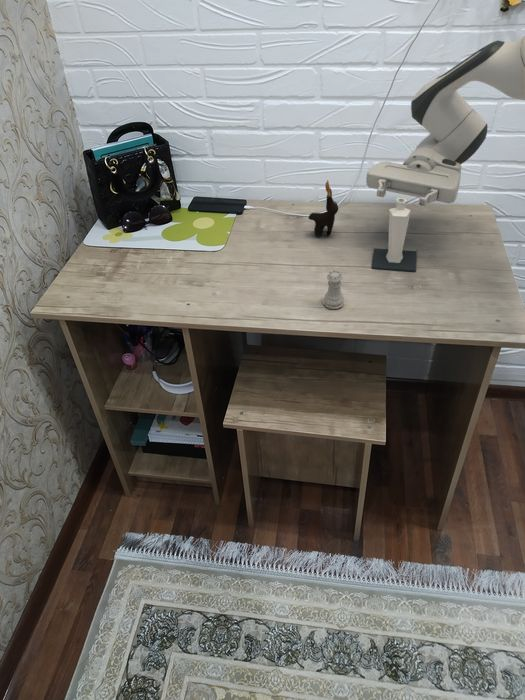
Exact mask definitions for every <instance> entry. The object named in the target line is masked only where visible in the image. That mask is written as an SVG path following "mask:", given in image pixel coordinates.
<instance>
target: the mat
mask: <svg viewBox="0 0 525 700" xmlns="http://www.w3.org/2000/svg"><path fill="white" fill-rule="evenodd" d="M387 253H388V248H377V247H373V254H372V260H371V267H370V269H371V270H381V271H394V272H395V271H396V272H407V273H416V272H417V257H418V256H417V254H418V250H405V249H403V250H402V255H403V258H402V260H401V261H400V263H394V262H388V260H387V258H386V255H387Z"/></svg>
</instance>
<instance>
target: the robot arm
mask: <svg viewBox="0 0 525 700" xmlns="http://www.w3.org/2000/svg"><path fill="white" fill-rule="evenodd" d="M470 82H479V83H482V84H486V85H488V86H490V87H492V88H494V89H496V90H497V91H499V92H501V93H503V94H504V95H506V96H508V97H509V98H512V99H514V100H520V101H525V35H524V36H522V37H521V38H518V39H516V40H512V41H503V40H498V39H497V40H494V41H493V42H490V43H487V45H485V46H483V47H482V48H480V49H478V50H476V51H475V52H473V53H472V54H471V55H469V56H468V57H466V58H465V59H463V60H462V61H460V62H459V63H457V64H456V65H454V66H453V67H452V68H450V69H449V70H447V71H446V72H444V73H443V74H441V75H439V76H437V77H436V78H435V79H433V80H430V81H428V82H427V83H425V84H424V85H423V86H421V88H419V90H418V91H417V92H416V93H415V95H414V96H413V98H412V100H411V102H410V112H411V118H412V119H413V120H414V121H416V122H417V123H418V124H419V125H420V126H421V127H423V128H424V129H425V130H426V131H427V132H428V133H429V134H428V135H427V136H425V138H423V139H422V140H421V141H420V142H419V144H417V145H416V147H415V149H414V150H413V151H412V152H411V153H410V154H409V155H408V156H407V158H406V159H405V160H404V161H403V163H397V162H391V161H380V162H377V163H376V164H375V165H373V166H372V167H371V168H369V170H368V171H367V172H366V178H365V179H366V180H365V184H366V186H367V187H368V188H370V189H375V190H376V197H379V198H384V197H385V196H386V195H387V192H390V193H395V194H400V195H405V196H409V197H415V198H419V200H418V201H419V202H418V205H420V206H422V207H423V206H424V207H427V205H428V204H430V203H434V202H440V203H445V204H453V203H455V202H456V200H457V197H458V193H459V189H460V183H461V177H462V176H461V175H462V164H464V163H465V162H466V161H468V160H469V159H470V158H471V157H472V156H474V155H475V153H476V152H477V151H478V150H479V148H481V146H482V145H483V143H484V142H485V140H486V139H487V134H488V123H487V122H486V121H485V120H484V119H483V117H482V116H481V115H480V114H479V113H478V112H477V111H476V110H475V109H474V108H473V107H472V106H471V105H470V103H468V101H466V100H465V98H464V97H463V96H462V95H461V94H460V93H459V92H458V90H459V89H461V88H463V87H464V86H466V85H467V84H469V83H470Z"/></svg>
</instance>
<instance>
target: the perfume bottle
mask: <svg viewBox="0 0 525 700" xmlns="http://www.w3.org/2000/svg"><path fill="white" fill-rule="evenodd" d="M395 200H396V203H395V204H396V205H395V206H394V207H392V208H389V211H388V213H389V214H388V245H387V246H388V247H387V249H388V253H387V255H386V258H387V260H388V262H394V263H400V261H401V260H402V258H403V255H402V250H404V245H405V240H406V236H407V231H408V227H409V221H410V216H411V212H412V211H411V209H410V208H407V207H406V202H407V199H406V198H404V197H399V198H396V199H395Z"/></svg>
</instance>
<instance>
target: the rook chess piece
mask: <svg viewBox="0 0 525 700" xmlns="http://www.w3.org/2000/svg"><path fill="white" fill-rule="evenodd" d="M343 277H344V276H343V275H342V272H341V271H340V270H336V269H333V270H330V271H329V272H328V274H327V276H326V279H327V280H328V281H327V285H328V287H327V292H326V293H325V295H324V297H323V305H324V307H326V308H327V309H329V310H338V309H341V307H343V306H344V304H345V297H344V295H343V293H342V292H341V285H342V280H343Z"/></svg>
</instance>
